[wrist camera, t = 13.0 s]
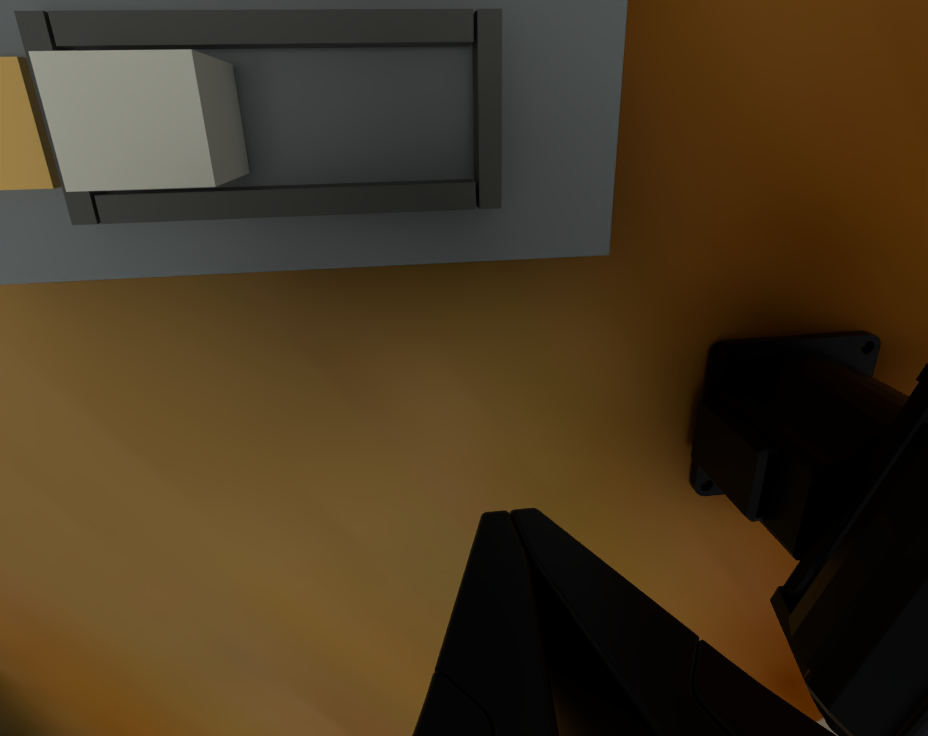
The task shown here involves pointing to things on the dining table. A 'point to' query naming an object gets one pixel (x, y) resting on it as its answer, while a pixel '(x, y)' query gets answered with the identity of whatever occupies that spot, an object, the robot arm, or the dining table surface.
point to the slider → (141, 118)
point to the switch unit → (334, 137)
